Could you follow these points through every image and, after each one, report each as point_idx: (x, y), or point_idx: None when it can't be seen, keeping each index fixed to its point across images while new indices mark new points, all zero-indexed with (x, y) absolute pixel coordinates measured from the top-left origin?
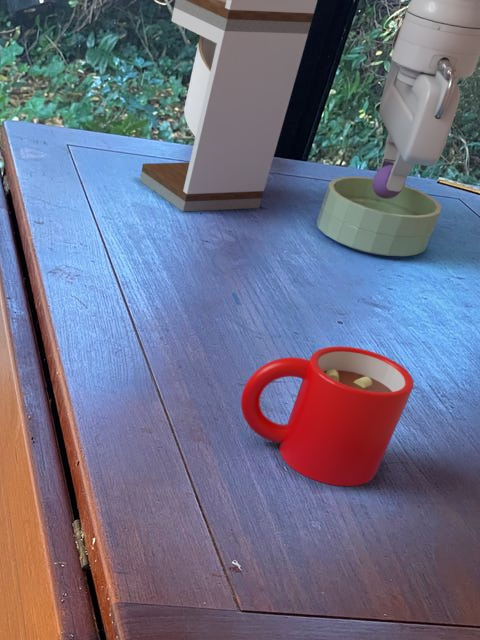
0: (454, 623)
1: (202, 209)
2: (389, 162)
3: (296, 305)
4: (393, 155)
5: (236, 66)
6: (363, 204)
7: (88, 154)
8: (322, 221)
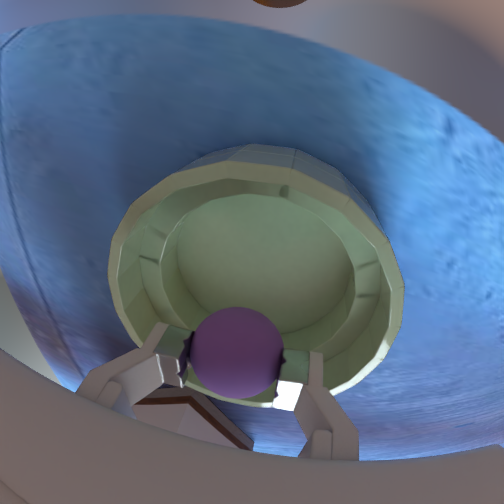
0: None
1: (241, 432)
2: (181, 379)
3: (490, 392)
4: (148, 376)
5: None
6: (166, 286)
7: None
8: None
